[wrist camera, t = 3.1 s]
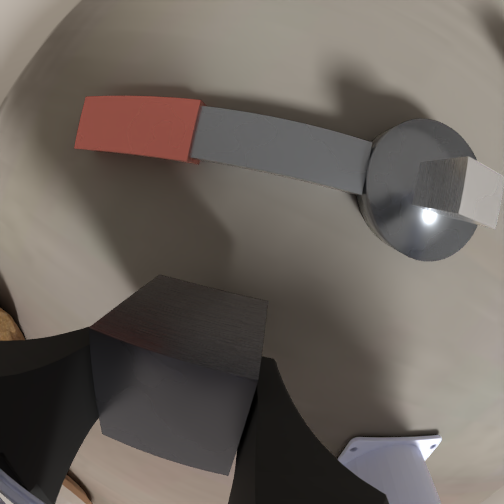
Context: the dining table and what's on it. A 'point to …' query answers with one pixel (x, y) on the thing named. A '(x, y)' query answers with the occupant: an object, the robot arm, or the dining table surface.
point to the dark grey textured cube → (179, 371)
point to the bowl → (71, 493)
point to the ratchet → (319, 163)
